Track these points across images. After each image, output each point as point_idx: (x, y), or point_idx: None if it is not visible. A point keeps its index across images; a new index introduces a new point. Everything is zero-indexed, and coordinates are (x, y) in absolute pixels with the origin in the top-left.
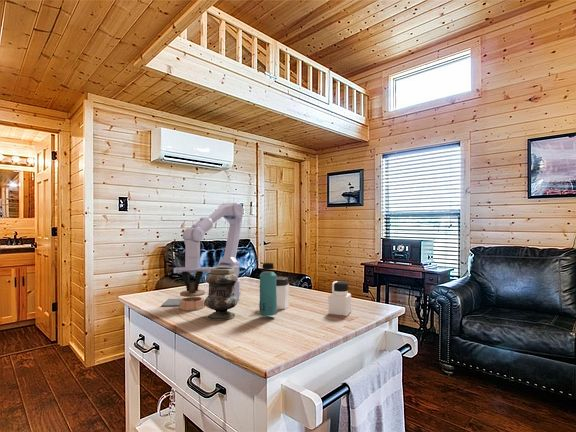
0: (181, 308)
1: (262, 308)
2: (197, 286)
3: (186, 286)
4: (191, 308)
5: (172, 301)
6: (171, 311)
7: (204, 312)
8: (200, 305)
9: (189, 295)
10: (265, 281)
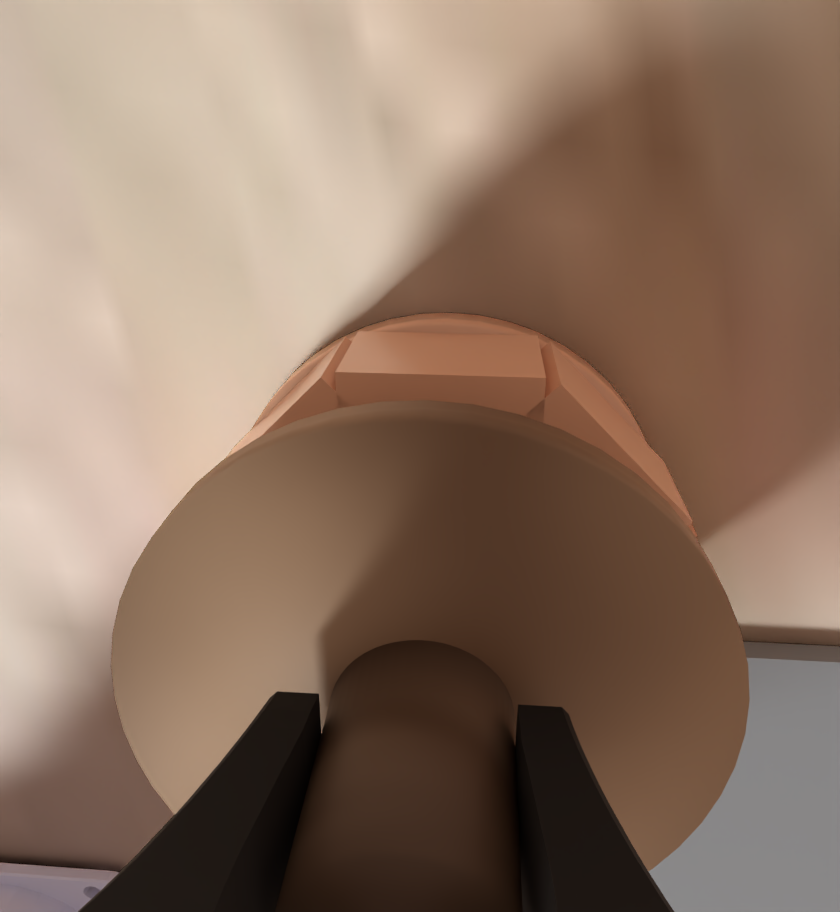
0: (628, 411)
1: None
2: (219, 763)
3: (591, 790)
4: (418, 324)
5: (826, 870)
6: (811, 313)
7: (140, 159)
8: (255, 426)
9: (447, 415)
10: None
